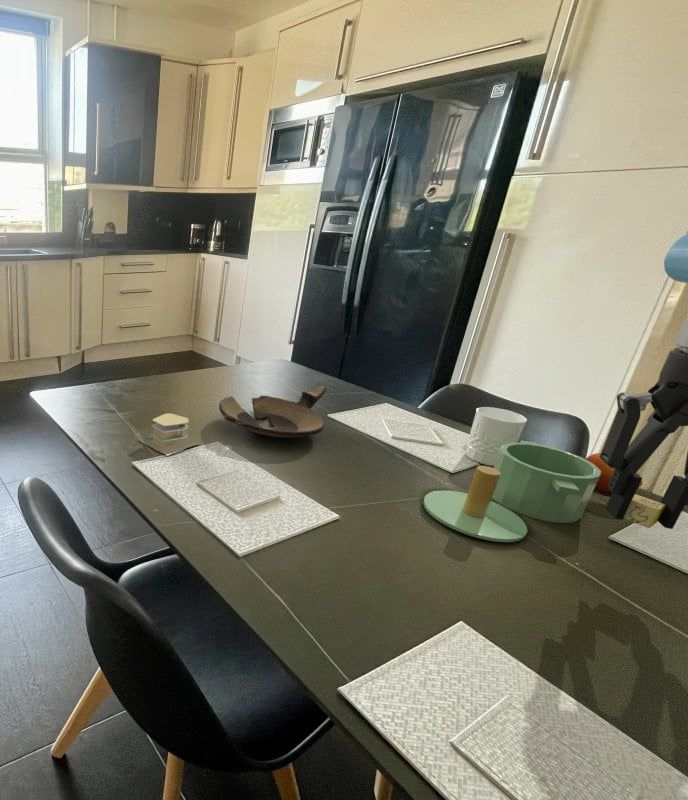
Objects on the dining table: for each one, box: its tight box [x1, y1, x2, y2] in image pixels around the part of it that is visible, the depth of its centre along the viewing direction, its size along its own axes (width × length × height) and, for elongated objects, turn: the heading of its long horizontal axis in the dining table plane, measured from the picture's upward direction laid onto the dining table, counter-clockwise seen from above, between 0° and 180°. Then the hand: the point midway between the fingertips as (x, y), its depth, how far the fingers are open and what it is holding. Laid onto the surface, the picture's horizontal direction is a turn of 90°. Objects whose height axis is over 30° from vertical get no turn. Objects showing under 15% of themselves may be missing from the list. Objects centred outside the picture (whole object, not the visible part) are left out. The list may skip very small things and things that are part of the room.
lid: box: [422, 465, 528, 543], centre depth 78 cm, size 14×14×9 cm
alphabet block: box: [623, 493, 666, 529], centre depth 66 cm, size 3×3×3 cm
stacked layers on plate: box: [150, 412, 190, 448], centre depth 104 cm, size 10×9×6 cm
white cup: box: [465, 406, 528, 467], centre depth 98 cm, size 8×8×10 cm
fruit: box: [584, 452, 644, 498], centre depth 88 cm, size 8×8×8 cm
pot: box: [491, 440, 601, 524], centre depth 84 cm, size 13×18×8 cm
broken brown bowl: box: [218, 385, 328, 438], centre depth 111 cm, size 22×30×8 cm
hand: (637, 517), depth 66 cm, fingers closed on alphabet block, 4 cm apart
